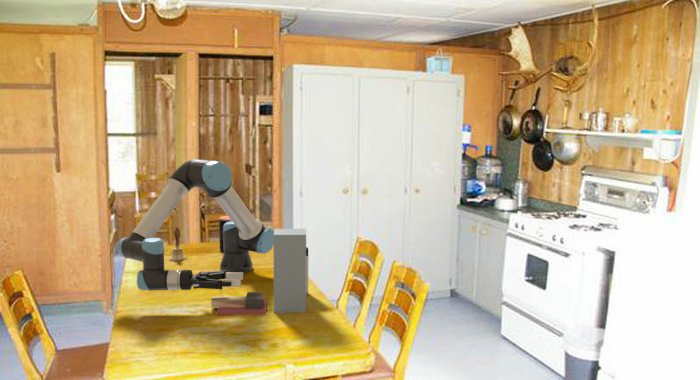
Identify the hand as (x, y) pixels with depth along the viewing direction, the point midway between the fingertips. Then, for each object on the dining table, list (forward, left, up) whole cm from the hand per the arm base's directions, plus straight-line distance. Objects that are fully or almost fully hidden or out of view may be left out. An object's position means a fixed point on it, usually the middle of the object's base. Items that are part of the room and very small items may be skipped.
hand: (241, 279), depth 218 cm
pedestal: (0, +18, -11) cm, 22 cm away
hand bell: (-71, -39, -12) cm, 82 cm away
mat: (0, 0, -11) cm, 12 cm away
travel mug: (-16, +22, -12) cm, 30 cm away
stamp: (0, -1, -10) cm, 11 cm away
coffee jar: (-86, -15, -12) cm, 88 cm away
